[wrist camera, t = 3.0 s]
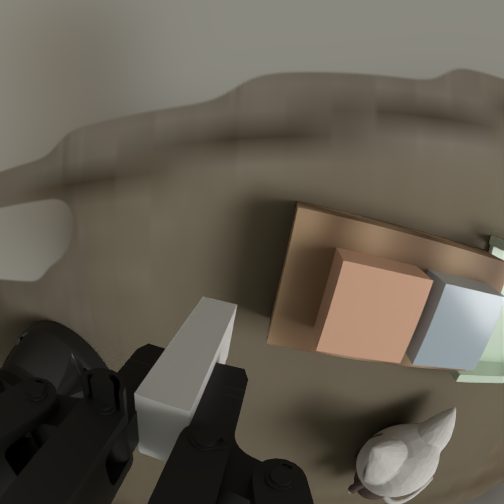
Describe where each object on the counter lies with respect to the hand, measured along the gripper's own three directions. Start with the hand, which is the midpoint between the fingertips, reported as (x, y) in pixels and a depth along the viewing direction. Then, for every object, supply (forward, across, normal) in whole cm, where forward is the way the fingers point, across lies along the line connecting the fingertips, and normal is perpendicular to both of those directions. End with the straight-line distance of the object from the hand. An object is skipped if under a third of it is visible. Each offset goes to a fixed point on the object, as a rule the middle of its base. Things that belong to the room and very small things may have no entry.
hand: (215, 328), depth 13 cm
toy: (+13, +20, -18) cm, 30 cm away
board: (+12, +12, 0) cm, 17 cm away
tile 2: (+8, +9, 0) cm, 12 cm away
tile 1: (+8, +16, 0) cm, 18 cm away
